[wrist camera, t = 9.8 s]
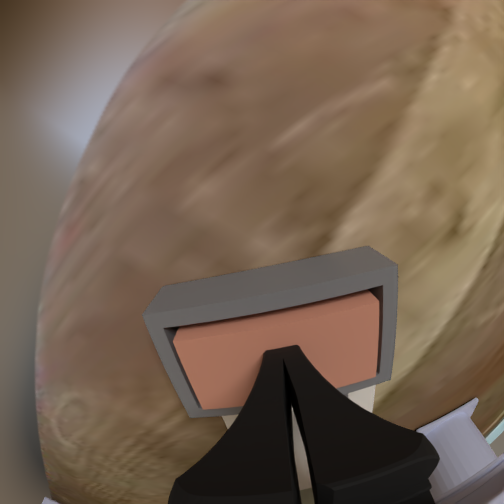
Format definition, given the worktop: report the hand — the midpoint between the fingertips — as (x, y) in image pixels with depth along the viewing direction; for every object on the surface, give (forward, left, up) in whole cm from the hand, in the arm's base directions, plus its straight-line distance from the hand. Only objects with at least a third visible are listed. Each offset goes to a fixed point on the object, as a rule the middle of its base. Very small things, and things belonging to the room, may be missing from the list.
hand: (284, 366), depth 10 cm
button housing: (0, 0, -3) cm, 3 cm away
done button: (0, 0, -2) cm, 2 cm away
